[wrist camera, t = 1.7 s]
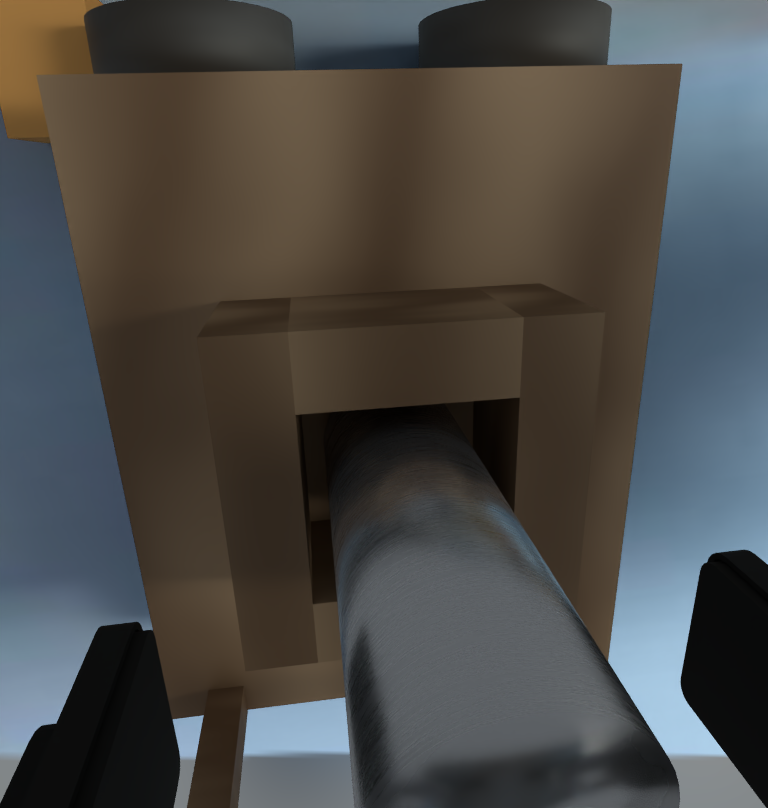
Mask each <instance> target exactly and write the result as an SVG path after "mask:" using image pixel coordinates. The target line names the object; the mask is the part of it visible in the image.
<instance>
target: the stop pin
mask: <svg viewBox="0 0 768 808" xmlns="http://www.w3.org/2000/svg"><path fill="white" fill-rule="evenodd" d="M324 449H325V461H326V473H327V485H328V497H329V509H330V521H331V533H332V545H333V557H334V569H335V581H336V593H337V604H338V616H339V628H340V640H341V652H342V664H343V676H344V688H345V700H346V712H347V724H348V736H349V748H350V759H351V770H352V783H353V795H354V806H355V808H679V802H680V792H679V784H678V779H677V776H676V772H675V770H674V767H673V766H672V764H671V762H670V760H669V758H668V756H667V754H666V753H665V751H664V750H663V748H662V747H661V745H660V743H659V742H658V740H657V739H656V737H655V735H654V734H653V732H652V731H651V729H650V728H649V726H648V724H647V723H646V721H645V720H644V718H643V716H642V715H641V713H640V712H639V710H638V709H637V707H636V705H635V704H634V702H633V701H632V699H631V697H630V696H629V694H628V693H627V691H626V690H625V688H624V686H623V685H622V683H621V682H620V680H619V678H618V677H617V675H616V674H615V672H614V671H613V669H612V667H611V666H610V664H609V663H608V661H607V659H606V658H605V656H604V655H603V653H602V652H601V650H600V648H599V647H598V645H597V644H596V642H595V640H594V639H593V637H592V636H591V634H590V633H589V631H588V629H587V628H586V626H585V625H584V623H583V621H582V620H581V618H580V617H579V615H578V614H577V612H576V610H575V609H574V607H573V606H572V604H571V602H570V601H569V599H568V598H567V596H566V595H565V593H564V591H563V590H562V588H561V587H560V585H559V583H558V582H557V580H556V579H555V577H554V576H553V574H552V572H551V571H550V569H549V568H548V566H547V564H546V563H545V561H544V560H543V558H542V557H541V555H540V553H539V552H538V550H537V549H536V547H535V545H534V544H533V542H532V541H531V539H530V538H529V536H528V534H527V533H526V531H525V530H524V528H523V526H522V525H521V523H520V522H519V520H518V519H517V517H516V515H515V514H514V512H513V511H512V509H511V507H510V506H509V504H508V503H507V501H506V500H505V498H504V496H503V495H502V493H501V492H500V490H499V488H498V487H497V485H496V484H495V482H494V481H493V479H492V477H491V476H490V474H489V473H488V471H487V469H486V468H485V466H484V465H483V463H482V462H481V460H480V458H479V457H478V455H477V454H476V452H475V450H474V449H473V447H472V446H471V444H470V443H469V441H468V439H467V438H466V436H465V435H464V433H463V431H462V430H461V428H460V427H459V425H458V423H457V422H456V420H455V419H454V417H453V416H452V414H451V412H450V411H449V409H448V408H447V406H446V404H445V403H442V404H429V405H416V406H403V407H390V408H377V409H364V410H351V411H338V412H331V414H330V416H329V419H328V421H327V424H326V428H325V434H324Z"/></svg>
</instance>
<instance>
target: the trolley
mask: <svg viewBox="0 0 768 808" xmlns="http://www.w3.org/2000/svg"><path fill="white" fill-rule="evenodd" d="M611 13H612V9H611V7H610V6H609V5H608V4H606V3H604V2H601V1H598V0H485V1H479V2H473V3H468V4H464V5H459V6H455V7H451V8H448V9H445V10H442V11H439V12H436V13H434V14H432V15H429V16H427V17H426V18H424V19H423V20H422V21H421V22H420V23H419V68H408V69H350V70H295V57H294V43H293V30H292V22H291V20H290V19H289V18H288V17H287V16H285V15H284V14H282V13H280V12H277V11H275V10H272V9H269V8H265V7H262V6H258V5H253V4H248V3H243V2H236V1H229V0H124V1H118V2H113V3H108V4H104V5H101V6H98V7H95V8H93V9H91V10H89V11H88V12H86V14H85V15H84V23H85V29H86V34H87V40H88V46H89V51H90V57H91V62H92V68H93V73H94V74H60V75H36V76H37V80H38V85H39V90H40V95H41V99H42V104H43V109H44V114H45V118H46V123H47V128H48V133H49V137H50V142H51V147H52V152H53V156H54V161H55V166H56V171H57V175H58V180H59V185H60V190H61V194H62V199H63V204H64V209H65V214H66V218H67V223H68V228H69V233H70V237H71V242H72V247H73V252H74V256H75V261H76V266H77V271H78V275H79V280H80V285H81V290H82V294H83V299H84V304H85V309H86V313H87V318H88V323H89V328H90V332H91V337H92V342H93V347H94V351H95V356H96V361H97V366H98V370H99V375H100V380H101V385H102V390H103V394H104V399H105V404H106V409H107V413H108V418H109V423H110V428H111V432H112V437H113V442H114V447H115V451H116V456H117V461H118V466H119V470H120V475H121V480H122V485H123V489H124V494H125V499H126V504H127V508H128V513H129V518H130V523H131V527H132V532H133V537H134V542H135V547H136V551H137V556H138V561H139V566H140V570H141V575H142V580H143V585H144V589H145V594H146V599H147V604H148V608H149V613H150V618H151V623H152V627H153V632H154V635H155V639H156V643H157V648H158V653H159V658H160V662H161V667H162V672H163V677H164V682H165V686H166V691H167V696H168V701H169V705H170V710H171V715H172V719H178V718H186V717H193V716H201V715H204V717H203V723H202V728H201V734H200V739H199V745H198V750H197V756H196V761H195V767H194V772H193V777H192V783H191V789H190V794H189V800H188V805H187V808H238V800H239V790H240V781H241V772H242V762H243V752H244V742H245V732H246V723H247V713H248V711H247V710H249V709H256V708H264V707H272V706H280V705H288V704H296V703H304V702H312V701H320V700H327V699H335V698H343V697H345V688H344V676H343V664H342V652H341V640H340V628H339V616H338V604H337V593H336V581H335V569H334V557H333V545H332V533H331V521H330V509H329V497H328V485H327V473H326V461H325V449H324V434H325V428H326V424H327V421H328V419H329V416H330V414H331V412H338V411H351V410H364V409H377V408H390V407H403V406H416V405H429V404H442V403H445V404H446V406H447V408H448V409H449V411H450V412H451V414H452V416H453V417H454V419H455V420H456V422H457V423H458V425H459V427H460V428H461V430H462V431H463V433H464V435H465V436H466V438H467V439H468V441H469V443H470V444H471V446H472V447H473V449H474V450H475V452H476V454H477V455H478V457H479V458H480V460H481V462H482V463H483V465H484V466H485V468H486V469H487V471H488V473H489V474H490V476H491V477H492V479H493V481H494V482H495V484H496V485H497V487H498V488H499V490H500V492H501V493H502V495H503V496H504V498H505V500H506V501H507V503H508V504H509V506H510V507H511V509H512V511H513V512H514V514H515V515H516V517H517V519H518V520H519V522H520V523H521V525H522V526H523V528H524V530H525V531H526V533H527V534H528V536H529V538H530V539H531V541H532V542H533V544H534V545H535V547H536V549H537V550H538V552H539V553H540V555H541V557H542V558H543V560H544V561H545V563H546V564H547V566H548V568H549V569H550V571H551V572H552V574H553V576H554V577H555V579H556V580H557V582H558V583H559V585H560V587H561V588H562V590H563V591H564V593H565V595H566V596H567V598H568V599H569V601H570V602H571V604H572V606H573V607H574V609H575V610H576V612H577V614H578V615H579V617H580V618H581V620H582V621H583V623H584V625H585V626H586V628H587V629H588V631H589V633H590V634H591V636H592V637H593V639H594V640H595V642H596V644H597V645H598V647H599V648H600V650H601V652H602V653H603V655H604V656H605V658H606V659H607V661H608V656H609V648H610V640H611V632H612V624H613V616H614V608H615V600H616V592H617V584H618V576H619V568H620V560H621V552H622V544H623V536H624V528H625V520H626V512H627V504H628V496H629V488H630V480H631V472H632V464H633V456H634V448H635V440H636V432H637V424H638V416H639V408H640V400H641V392H642V383H643V375H644V367H645V359H646V351H647V343H648V335H649V327H650V319H651V311H652V303H653V295H654V287H655V279H656V271H657V263H658V255H659V247H660V239H661V231H662V223H663V215H664V207H665V199H666V191H667V183H668V175H669V167H670V159H671V151H672V143H673V135H674V127H675V119H676V111H677V103H678V95H679V87H680V79H681V71H682V64H640V65H607V60H608V48H609V36H610V25H611Z"/></svg>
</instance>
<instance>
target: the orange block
mask: <svg viewBox="0 0 768 808" xmlns="http://www.w3.org/2000/svg"><path fill="white" fill-rule="evenodd" d="M101 5H103V4H102V3H101V2H100V1H99V0H0V106H1V111H2V115H3V119H4V124H5V128H6V132H7V137H8V138H10V139H18V140H26V141H33V142H41V143H51V142H50V137H49V133H48V128H47V123H46V118H45V114H44V109H43V104H42V99H41V95H40V90H39V85H38V80H37V76H36V75H60V74H94V73H93V68H92V62H91V57H90V51H89V46H88V40H87V34H86V29H85V23H84V15H85V14H86V12H88V11H89V10H91V9H93V8H95V7H98V6H101Z"/></svg>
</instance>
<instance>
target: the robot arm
mask: <svg viewBox="0 0 768 808" xmlns="http://www.w3.org/2000/svg"><path fill="white" fill-rule="evenodd" d="M681 689H682V692H683V695H684V697H685V699H686V701H687V703H688V704H689V705H690V707H691V708H692V709H693V711H694V712H695V713H696V715H697V716H698V717H699V719H700V720H701V721H702V723H703V724H704V725H705V727H706V728H707V729H708V731H709V732H710V733H711V735H712V736H713V737H714V739H715V740H716V741H717V743H718V744H719V745H720V747H721V748H722V749H723V751H724V752H725V753H726V755H727V756H728V757H729V759H730V760H731V761H732V763H733V764H734V765H735V767H736V768H737V769H738V771H739V772H740V773H741V774H742V776H743V777H744V778H745V780H746V781H747V783H748V784H749V785H750V787H751V788H752V789H753V791H754V792H755V793H756V794H757V796H758V797H759V799H760V800H761V801H762V803H763V804H764V805H765V806H766V808H768V565H767V564H766V563H765V562H764V561H763V560H761V559H760V558H759V557H758V556H756V555H755V554H754V553H752V552H750V551H748V550H737V551H729V552H721V553H715V554H712V555H711V556H710V557H709V559H708V562H707V563H705V564H703V565H702V567H701V570H700V575H699V581H698V586H697V592H696V597H695V603H694V608H693V614H692V619H691V625H690V630H689V636H688V642H687V647H686V653H685V658H684V664H683V669H682V675H681ZM179 774H180V754H179V748H178V744H177V739H176V734H175V729H174V725H173V720H172V715H171V710H170V705H169V701H168V696H167V691H166V686H165V682H164V677H163V672H162V667H161V662H160V658H159V653H158V648H157V643H156V639H155V635H154V632H153V630H145V631H143V630H142V626H141V625H140V623H139V622H132V623H123V624H115V625H107V626H101V627H99V628H98V630H97V632H96V633H95V636H94V638H93V640H92V643H91V645H90V647H89V650H88V652H87V654H86V656H85V659H84V661H83V663H82V666H81V668H80V670H79V673H78V675H77V677H76V680H75V682H74V684H73V687H72V689H71V691H70V693H69V696H68V698H67V700H66V703H65V705H64V707H63V710H62V712H61V714H60V717H59V719H58V721H57V724H50V725H43V726H41V727H40V728H38V729H37V730H36V731H35V733H34V734H33V736H32V738H31V739H30V741H29V743H28V745H27V747H26V750H25V752H24V754H23V756H22V758H21V760H20V763H19V765H18V767H17V769H16V771H15V773H14V775H13V777H12V779H11V782H10V784H9V786H8V788H7V790H6V792H5V795H4V797H3V799H2V801H1V803H0V808H174V802H175V797H176V792H177V786H178V780H179Z"/></svg>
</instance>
